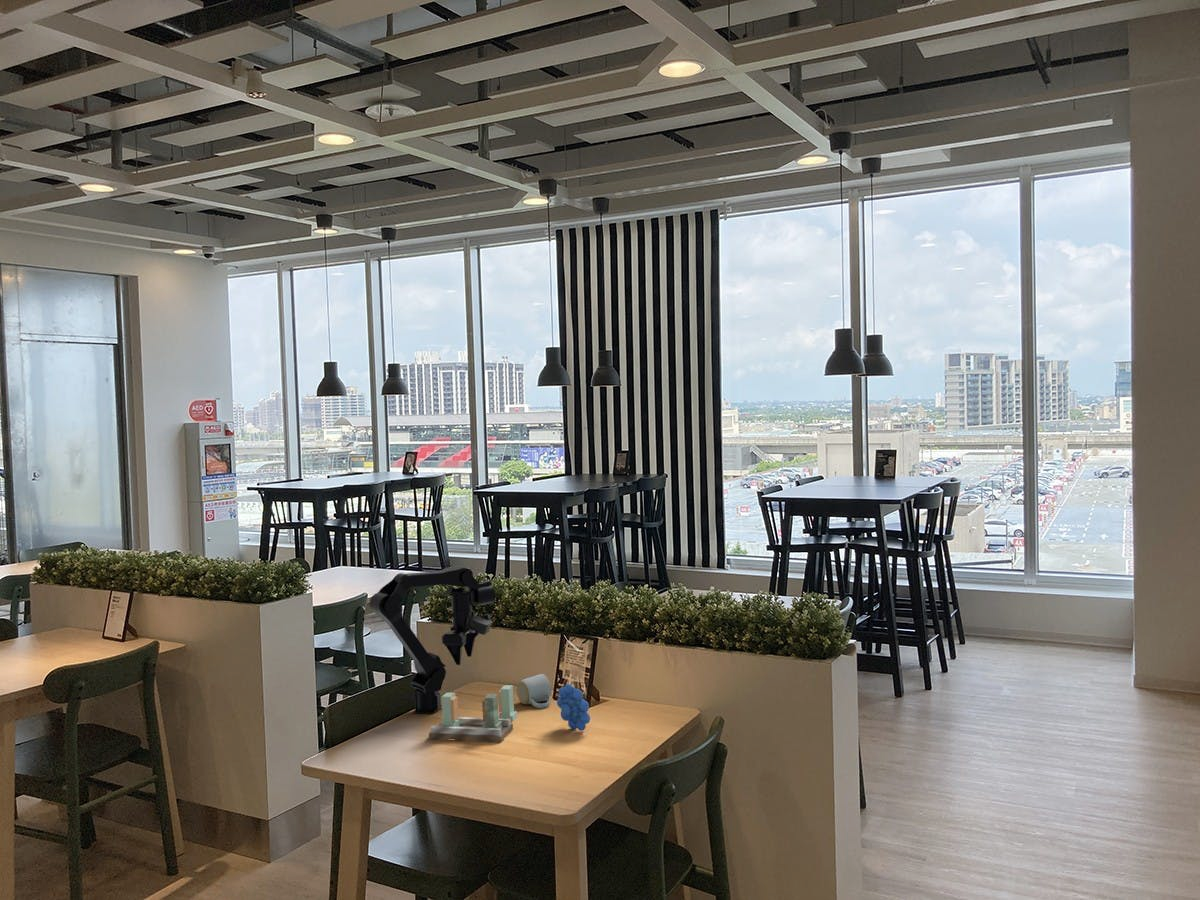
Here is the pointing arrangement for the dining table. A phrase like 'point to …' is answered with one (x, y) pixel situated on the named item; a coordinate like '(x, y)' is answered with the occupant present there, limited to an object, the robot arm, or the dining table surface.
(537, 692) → the ceramic mug
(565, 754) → the dining table surface
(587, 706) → the grapes
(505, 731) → the rail board
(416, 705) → the robot arm
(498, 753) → the dining table surface
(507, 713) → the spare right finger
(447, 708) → the stepped sage green block
